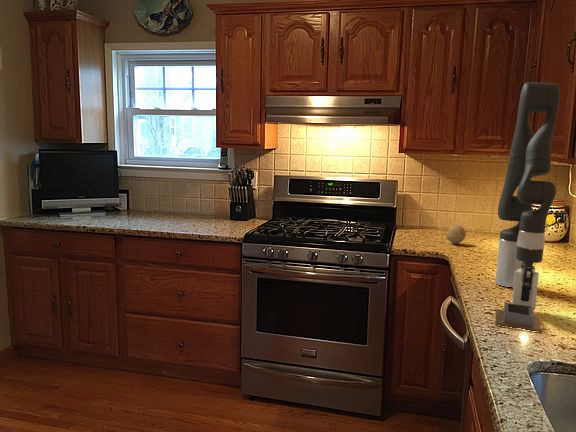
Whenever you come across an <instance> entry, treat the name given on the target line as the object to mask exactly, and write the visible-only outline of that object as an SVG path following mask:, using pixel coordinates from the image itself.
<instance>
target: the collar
mask: <svg viewBox="0 0 576 432" xmlns="http://www.w3.org/2000/svg"><path fill="white" fill-rule="evenodd" d="M495 318H496V320H495V324H494V325H500V326H507V327H512V328H521V329H525V330H530V331H539V332H541V333H542V332H543V331H542V325H541V320H540V316H539V315H538V314H534V311H533V309H532V306H527V305H520V304H513V303H511V302H504V305H503V309H495ZM530 331H529V332H530Z"/></svg>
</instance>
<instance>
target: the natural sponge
mask: <svg viewBox="0 0 576 432" xmlns="http://www.w3.org/2000/svg"><path fill="white" fill-rule="evenodd" d="M465 238H466V230H465V228H464V227H463V226H461V225H459V224H456V225H452V226H451V227H450V228H449V229H448V231H447V233H446V239H447V240H448V241H449V242H450V243H452V244H453V245H459V244H461V242H463V241H464V240H465Z"/></svg>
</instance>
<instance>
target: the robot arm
mask: <svg viewBox="0 0 576 432" xmlns="http://www.w3.org/2000/svg"><path fill="white" fill-rule="evenodd" d="M560 101H561V87H560V85H559V84H558V83H557V82H544V81H543V82H541V81H540V82H539V81H529V82H526V83H525V82H524V84H523V86H522V89H521V92H520V97H519V102H518V110H517V116H516V117H517V118H516V119H517V120H516V125H515V130H514V133H513V139H512V143H511V147H510V152H509V157H508V162H507V163H508V164H507V170H506V174H505V179H504V184H503V187H502V190H501V193H500V198H499V201H498V205H497V216H498V219H500V220H501V221H506V222H507V221H508V222H517V223H516V224H515V225H514V226H511V227H509V228H506V229H505V228H504V229H503V230H500V231H499V239H498V250H497V261H496V262H497V263H496V271H495V280H494V284H495V283H496V284H498V285H497V286H499V285H501V286H500V287H502V286H505V287H504V288H506V287H514V277H515V271H516V270H518V269H520V270H521V281H522V286H521V288H522V293H521V301H526V302H528V301H529V294H530V290H531V289H532V287H531V286H532V282H533V275H534V273H535V272H536V267H535V265H534V264H539V263H542V262H543V256H544V249H545V236H546V235H545V233H546V232H545V231H546V223H547V219H548V218H547V217H548V215H549V212H550V208H551V206H552V205H553V203H554V201H555V197H556V196H557V187H556V185H555V184H554V182H552V181H548V180H547V181H546V180H545V181H544V180H543V181H542V180H532V179H533V178H535V177H539V176H546V175H548V174H549V173H550V171H551V168H552V166H551V164H552V162H551V161H552V147H553V146H552V145H553V139H554V134H555V129H556V124H557V117H558V113H559V107H560ZM530 113H545V117H544V121H543V123H542V124H541V126H540V127H539V129H538V130H537V131H536V132H534V131H533V128H532V126H531V122H530V119H529V115H530ZM516 191H517V192H516ZM515 192H516V195H514V194H515ZM533 205H540V206H539V207H538V208H537V209H535V210H533ZM523 271H524V274H523ZM525 282H527V283H529V285H524V284H525ZM496 284H495V285H496Z"/></svg>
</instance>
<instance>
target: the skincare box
mask: <svg viewBox="0 0 576 432" xmlns="http://www.w3.org/2000/svg"><path fill="white" fill-rule="evenodd" d="M523 274H524V271H523ZM539 276H540V275H539V272H536V271H535V273H534V275H533V282H532V286H531V287H532V289H531V290H530V294H529V301H528V302H526V301H521V293H522V288H521V286H522V281H521V270H520V269H518V270H516V271H515V277H514V288H512V289H513V290H512V291H513V292H512V303H513V304H520V305H527V306H532V309H533V312H534V311H535V310H536V307H537V306H536V305H537V295H538V294H537V293H538V285H539V284H538V283H539ZM524 285H529V283H527V282H525V284H524Z"/></svg>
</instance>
